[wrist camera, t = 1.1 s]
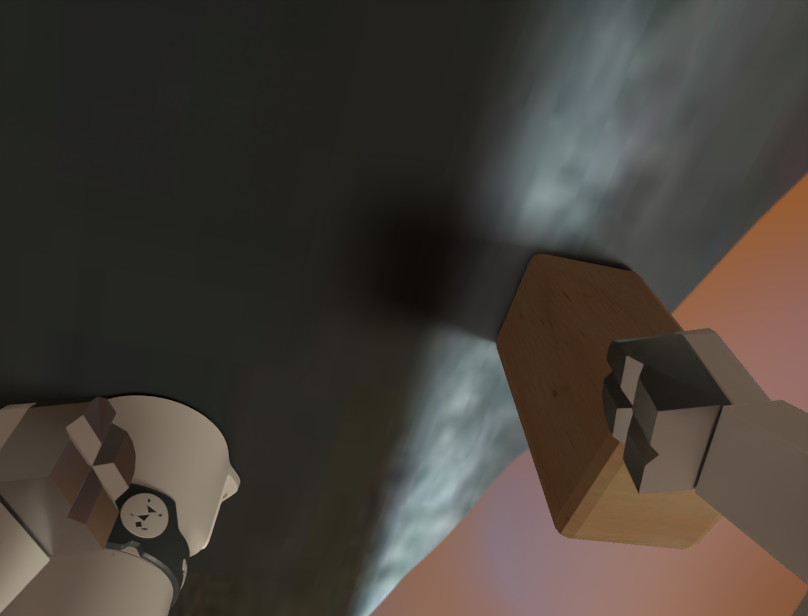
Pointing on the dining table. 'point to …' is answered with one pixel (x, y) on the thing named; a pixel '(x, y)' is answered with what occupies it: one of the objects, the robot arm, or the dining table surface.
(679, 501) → the wooden block
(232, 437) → the dining table surface
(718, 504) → the robot arm
